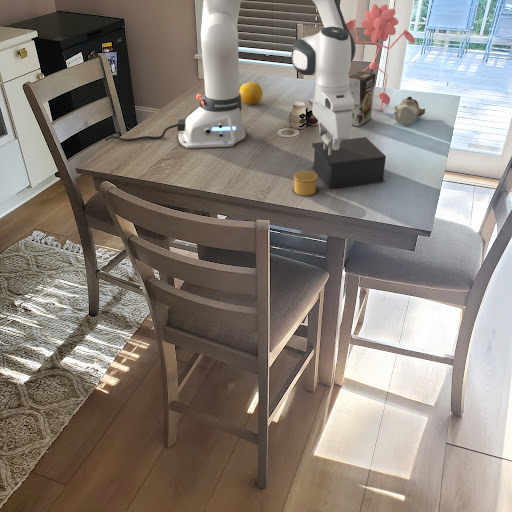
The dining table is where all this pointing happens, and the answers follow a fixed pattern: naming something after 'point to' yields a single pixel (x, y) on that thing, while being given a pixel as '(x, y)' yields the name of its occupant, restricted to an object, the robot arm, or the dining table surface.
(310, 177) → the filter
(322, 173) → the black lidded box
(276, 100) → the dining table surface
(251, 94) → the fruit
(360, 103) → the coffee box
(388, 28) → the figurine
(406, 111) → the ceramic sculpture
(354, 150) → the lid
